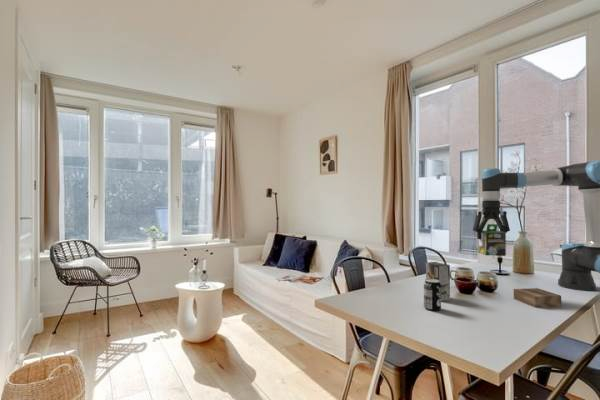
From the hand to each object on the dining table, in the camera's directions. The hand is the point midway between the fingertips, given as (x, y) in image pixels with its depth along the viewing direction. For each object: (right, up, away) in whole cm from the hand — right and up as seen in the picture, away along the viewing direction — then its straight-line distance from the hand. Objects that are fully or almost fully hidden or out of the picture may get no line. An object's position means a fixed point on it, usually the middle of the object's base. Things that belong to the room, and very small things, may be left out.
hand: (491, 245), depth 154 cm
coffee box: (-29, -24, -7) cm, 38 cm away
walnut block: (+12, -24, -14) cm, 30 cm away
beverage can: (-38, -23, -22) cm, 50 cm away
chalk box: (0, -4, 0) cm, 4 cm away
